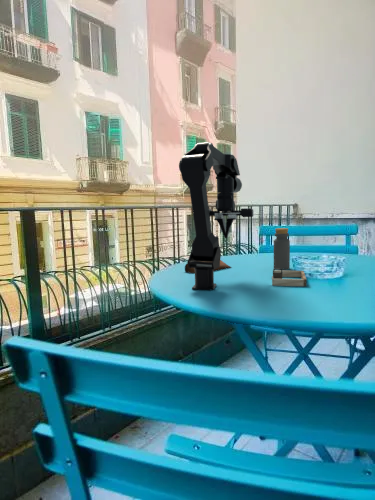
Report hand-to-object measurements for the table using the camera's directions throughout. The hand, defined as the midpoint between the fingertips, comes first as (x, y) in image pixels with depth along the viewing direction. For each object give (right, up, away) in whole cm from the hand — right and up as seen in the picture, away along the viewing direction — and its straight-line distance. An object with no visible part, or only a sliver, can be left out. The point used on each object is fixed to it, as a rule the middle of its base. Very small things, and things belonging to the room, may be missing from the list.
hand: (226, 237), depth 127 cm
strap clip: (+16, -15, -10) cm, 23 cm away
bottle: (+22, -11, +10) cm, 27 cm away
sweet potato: (-5, -12, +12) cm, 18 cm away
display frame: (+19, -14, -11) cm, 26 cm away
